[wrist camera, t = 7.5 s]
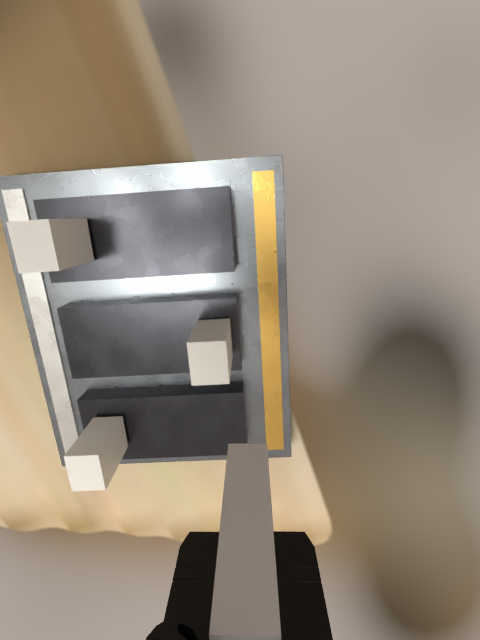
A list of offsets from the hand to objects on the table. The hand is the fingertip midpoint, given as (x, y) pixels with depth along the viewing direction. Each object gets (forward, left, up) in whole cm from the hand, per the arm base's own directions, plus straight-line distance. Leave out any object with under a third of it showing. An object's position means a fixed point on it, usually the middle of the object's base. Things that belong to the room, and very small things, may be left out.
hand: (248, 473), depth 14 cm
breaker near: (-9, -12, -14) cm, 21 cm away
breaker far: (+7, -12, -14) cm, 20 cm away
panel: (-1, -8, -19) cm, 21 cm away
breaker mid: (-1, -3, -14) cm, 14 cm away
